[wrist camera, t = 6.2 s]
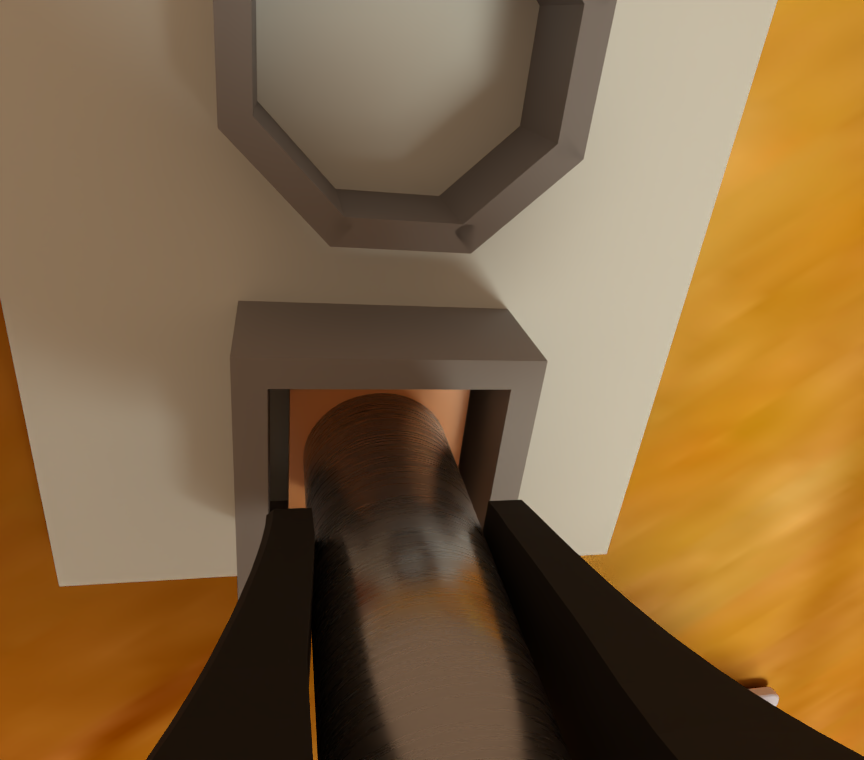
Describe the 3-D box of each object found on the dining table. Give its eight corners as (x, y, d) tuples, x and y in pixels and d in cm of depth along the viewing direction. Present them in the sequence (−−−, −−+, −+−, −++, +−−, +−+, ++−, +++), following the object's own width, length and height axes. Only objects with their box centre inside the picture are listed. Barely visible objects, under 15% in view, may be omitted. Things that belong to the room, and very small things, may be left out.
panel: (788, -149, 12) (957, -203, 9) (592, 530, 19) (648, 624, 16) (-99, -342, 9) (-291, -520, 6) (70, 556, 16) (23, 678, 13)
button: (458, 352, 14) (472, 378, 13) (439, 485, 16) (450, 517, 15) (289, 350, 14) (290, 377, 13) (287, 490, 15) (288, 525, 14)
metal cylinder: (457, 396, 14) (693, 908, 6) (433, 512, 15) (596, 1051, 7) (309, 388, 13) (353, 964, 5) (297, 511, 14) (317, 1112, 6)
